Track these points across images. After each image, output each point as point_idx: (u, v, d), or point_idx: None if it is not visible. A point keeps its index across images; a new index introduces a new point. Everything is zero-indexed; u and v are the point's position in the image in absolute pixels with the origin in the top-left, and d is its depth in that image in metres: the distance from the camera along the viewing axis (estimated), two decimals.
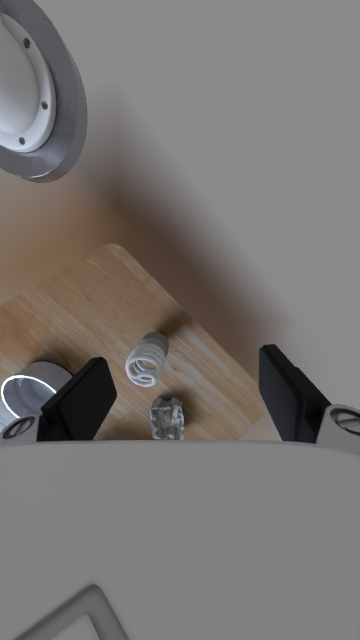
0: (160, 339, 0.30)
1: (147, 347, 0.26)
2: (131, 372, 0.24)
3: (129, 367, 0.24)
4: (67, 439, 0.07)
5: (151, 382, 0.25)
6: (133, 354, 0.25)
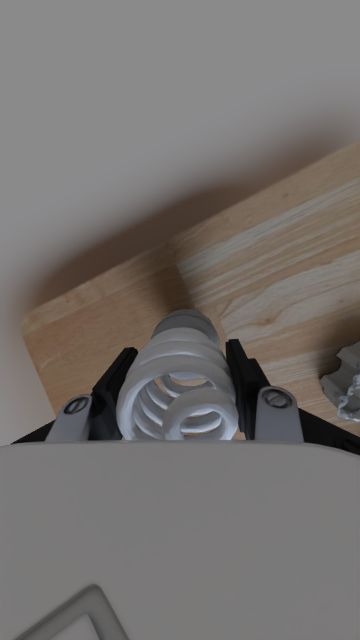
0: (164, 321, 0.13)
1: None
2: None
3: None
4: (113, 419, 0.08)
5: (222, 415, 0.07)
6: None
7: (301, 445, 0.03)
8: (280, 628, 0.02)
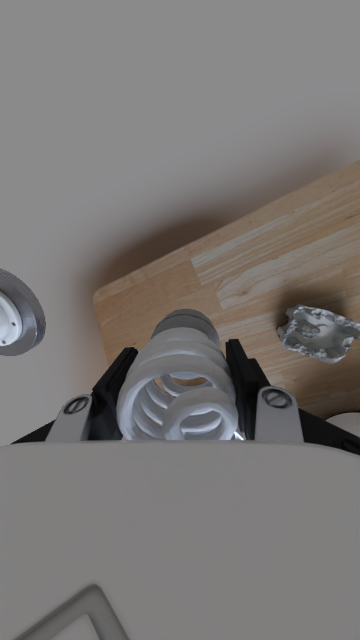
0: (164, 321, 0.13)
1: None
2: None
3: None
4: (113, 419, 0.08)
5: (222, 414, 0.07)
6: None
7: (301, 445, 0.03)
8: (280, 628, 0.02)
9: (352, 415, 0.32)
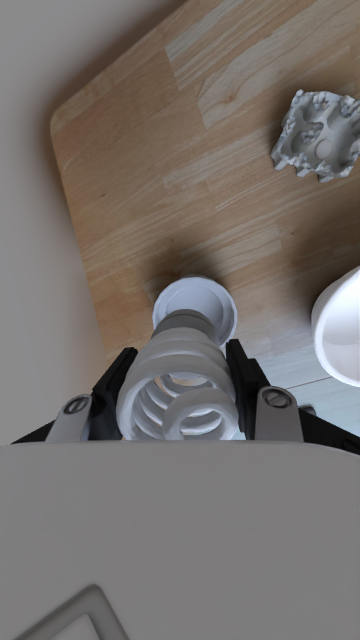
0: (164, 321, 0.13)
1: None
2: None
3: None
4: (113, 419, 0.08)
5: (222, 414, 0.07)
6: None
7: (301, 445, 0.03)
8: (280, 628, 0.02)
9: None
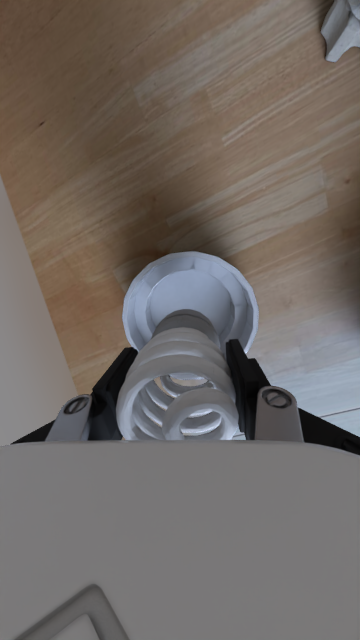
0: (164, 321, 0.13)
1: None
2: None
3: None
4: (113, 419, 0.08)
5: (222, 415, 0.07)
6: None
7: (301, 445, 0.03)
8: (280, 628, 0.02)
9: None
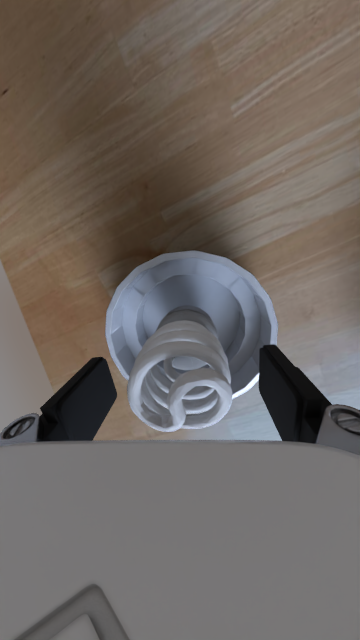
0: (167, 316, 0.14)
1: None
2: (162, 423, 0.09)
3: (149, 419, 0.09)
4: (67, 439, 0.07)
5: (218, 391, 0.08)
6: None
7: (301, 445, 0.03)
8: (280, 628, 0.02)
9: None
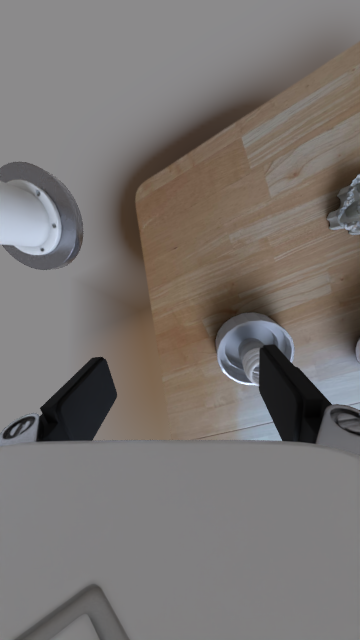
0: (247, 344, 0.33)
1: (247, 359, 0.29)
2: None
3: (255, 381, 0.28)
4: (67, 439, 0.07)
5: None
6: (246, 372, 0.29)
7: (301, 445, 0.03)
8: (280, 628, 0.02)
9: None
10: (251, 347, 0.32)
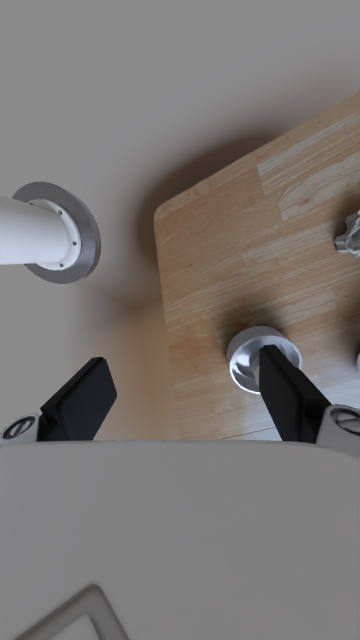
0: (258, 356, 0.35)
1: None
2: None
3: None
4: (67, 439, 0.07)
5: None
6: None
7: (301, 445, 0.03)
8: (280, 628, 0.02)
9: None
10: None
